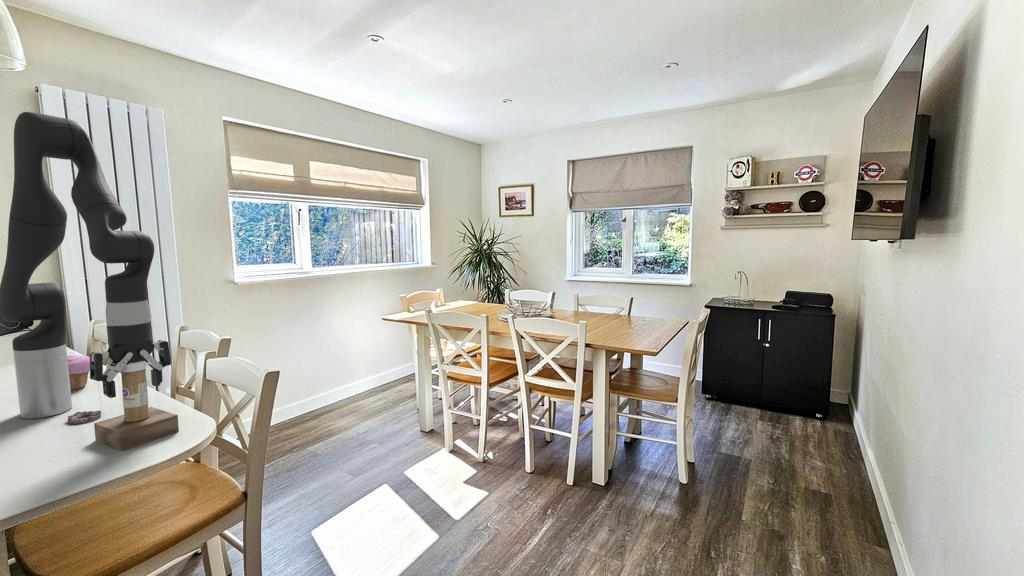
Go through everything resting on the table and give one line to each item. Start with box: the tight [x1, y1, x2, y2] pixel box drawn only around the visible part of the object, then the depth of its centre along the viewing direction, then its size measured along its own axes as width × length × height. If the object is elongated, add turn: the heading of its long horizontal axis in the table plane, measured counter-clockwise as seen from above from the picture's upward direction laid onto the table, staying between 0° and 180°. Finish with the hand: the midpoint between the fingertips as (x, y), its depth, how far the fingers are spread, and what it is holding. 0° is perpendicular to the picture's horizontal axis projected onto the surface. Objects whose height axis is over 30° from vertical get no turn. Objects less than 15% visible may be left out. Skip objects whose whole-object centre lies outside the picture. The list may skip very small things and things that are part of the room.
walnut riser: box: [93, 406, 180, 452], centre depth 102 cm, size 11×11×4 cm
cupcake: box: [67, 354, 90, 391], centre depth 132 cm, size 9×9×10 cm
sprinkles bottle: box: [119, 361, 150, 422], centre depth 101 cm, size 5×5×14 cm
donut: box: [67, 410, 102, 425], centre depth 110 cm, size 8×8×2 cm
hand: (134, 391), depth 101 cm, fingers open, 8 cm apart
